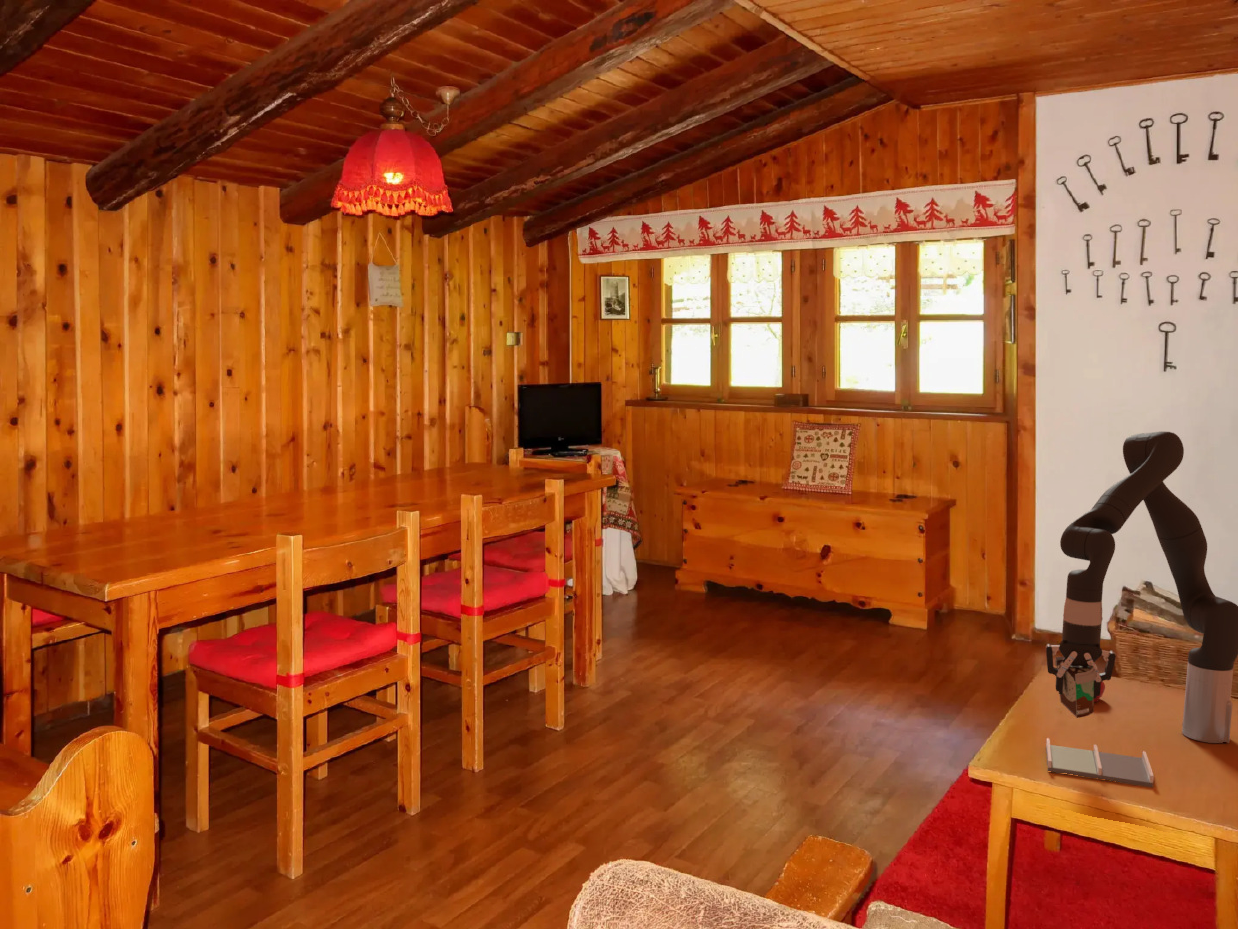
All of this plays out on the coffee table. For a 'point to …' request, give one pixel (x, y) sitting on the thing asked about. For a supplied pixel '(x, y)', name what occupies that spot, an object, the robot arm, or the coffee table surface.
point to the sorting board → (1100, 765)
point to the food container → (1078, 689)
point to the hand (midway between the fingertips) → (1077, 695)
